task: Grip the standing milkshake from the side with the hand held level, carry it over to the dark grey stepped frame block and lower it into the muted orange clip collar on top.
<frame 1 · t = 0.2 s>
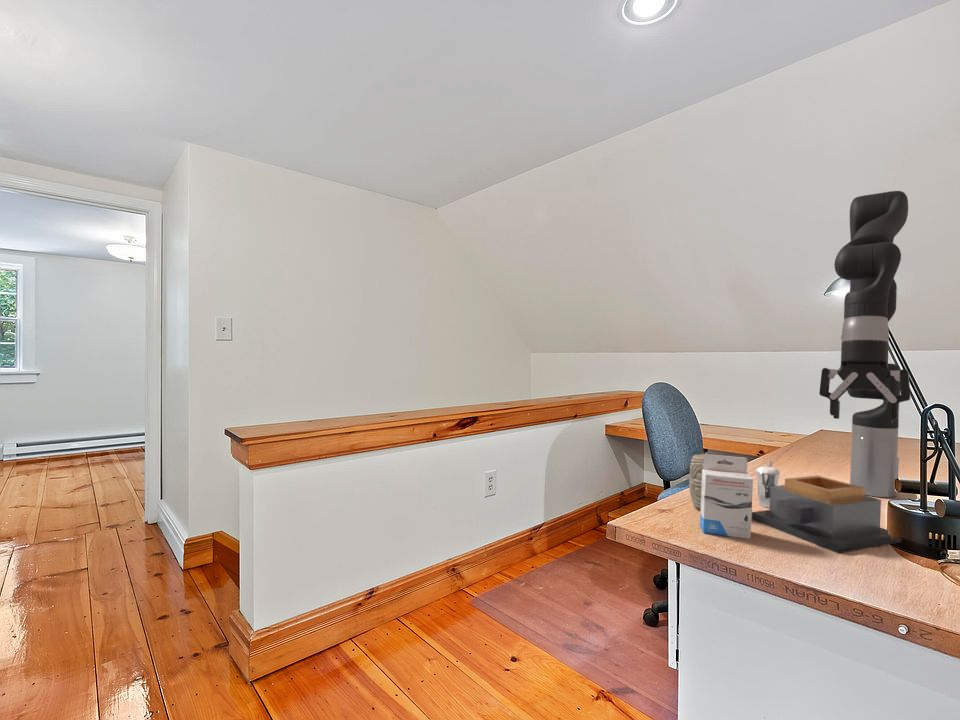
hand: (862, 420, 98), 22 cm above the table, tool pointing down, fingers open, 8 cm apart
milkshake: (767, 506, 113), on the table
stepped frame block: (822, 529, 98), on the table
carving: (706, 510, 110), on the table
ink box: (724, 533, 96), on the table
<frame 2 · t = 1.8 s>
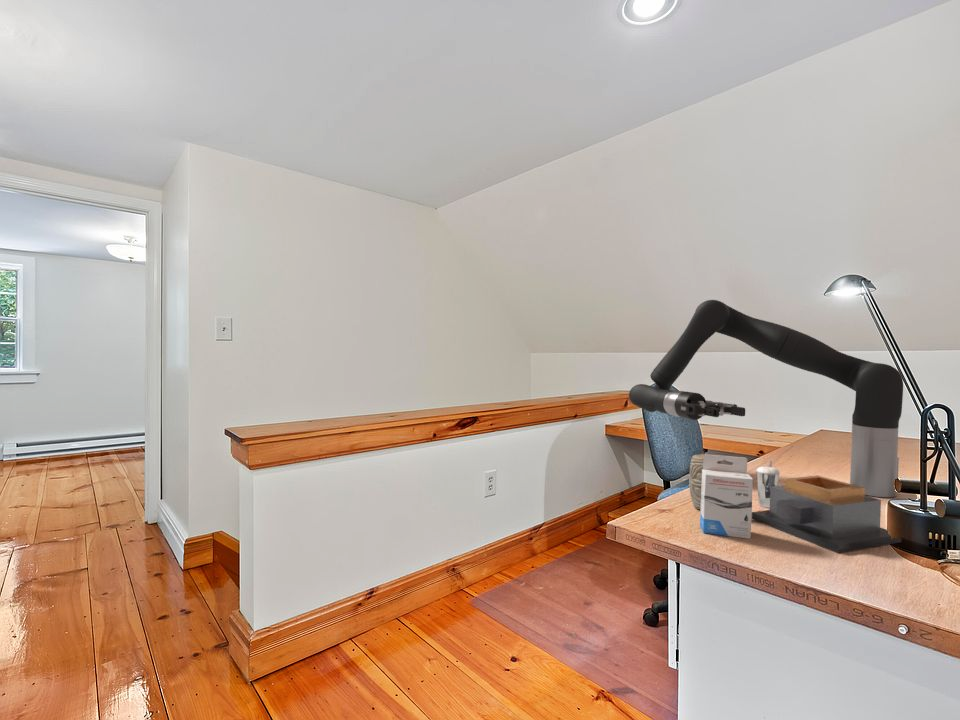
hand: (731, 412, 122), 20 cm above the table, tool horizontal, fingers open, 8 cm apart
nothing on the table moved.
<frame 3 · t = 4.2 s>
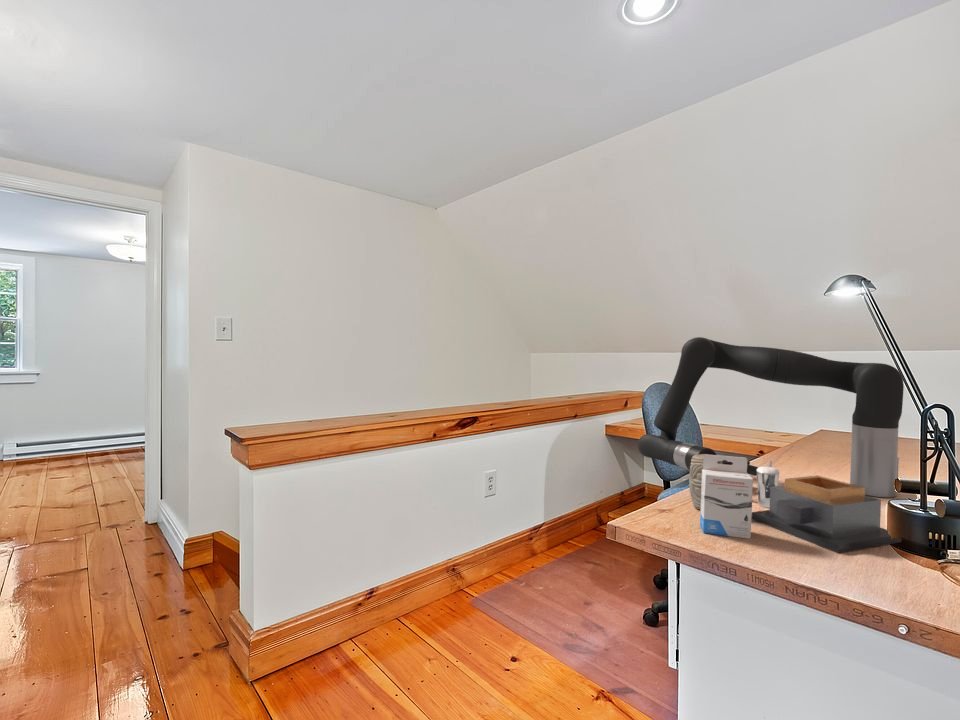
hand: (744, 472, 119), 6 cm above the table, tool horizontal, fingers open, 8 cm apart
nothing on the table moved.
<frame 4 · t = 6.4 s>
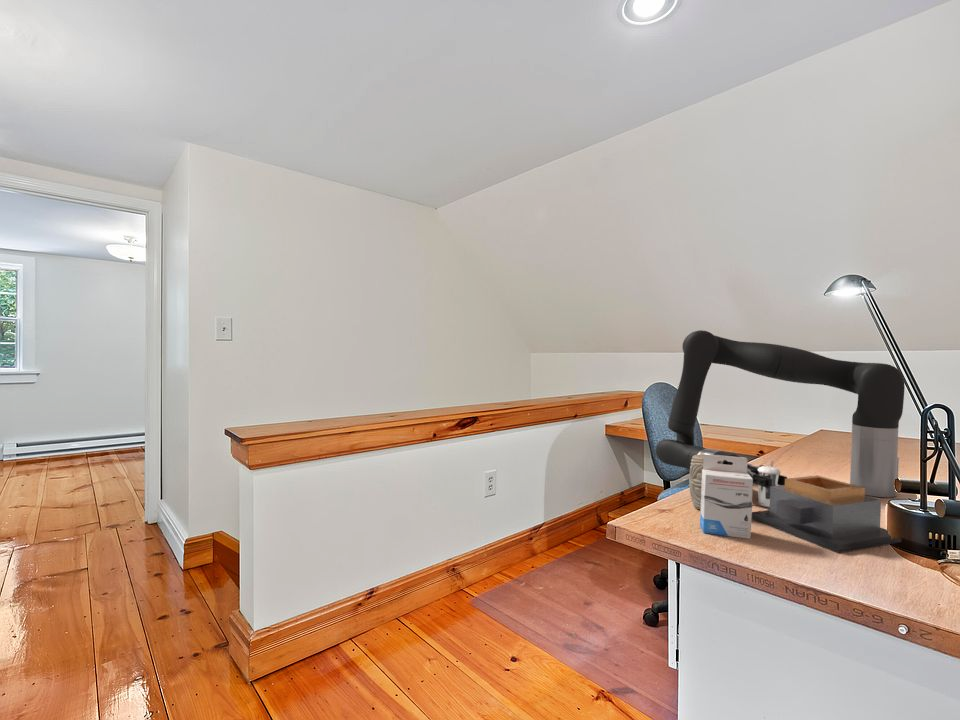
hand: (778, 482, 110), 6 cm above the table, tool horizontal, fingers closed on milkshake, 4 cm apart
milkshake: (767, 506, 113), on the table, touching gripper
everything else where it was.
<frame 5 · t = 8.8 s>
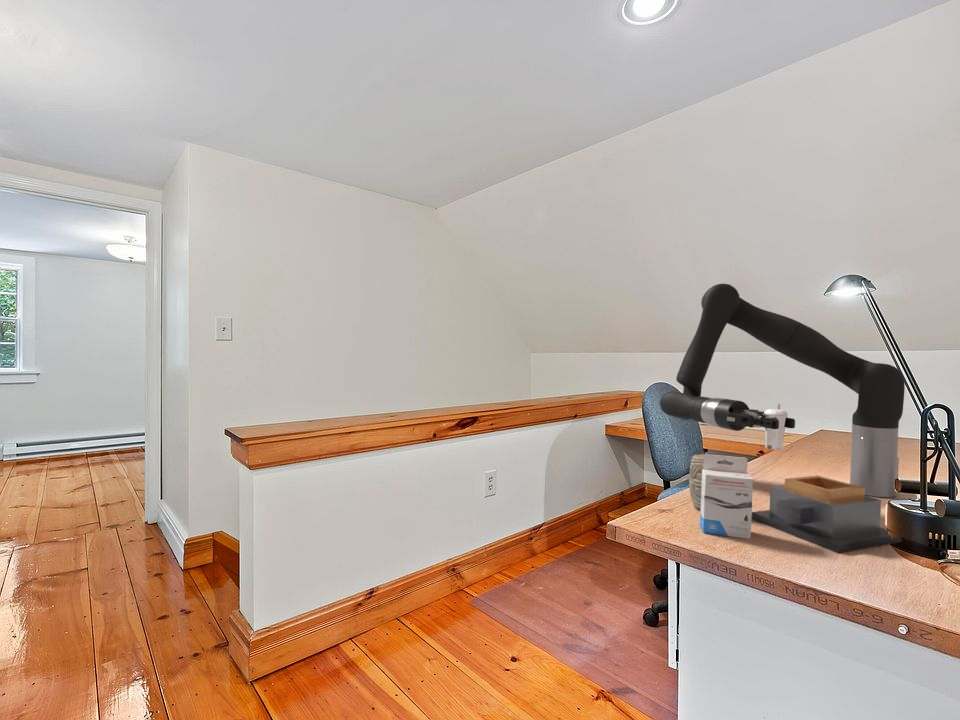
hand: (785, 424, 108), 20 cm above the table, tool horizontal, fingers closed on milkshake, 4 cm apart
milkshake: (773, 449, 111), point 13 cm above the table, touching gripper
everything else where it was.
when the fingers open (14 cm above the table, at t = 11.5 s): milkshake moves 2 cm, resting on stepped frame block.
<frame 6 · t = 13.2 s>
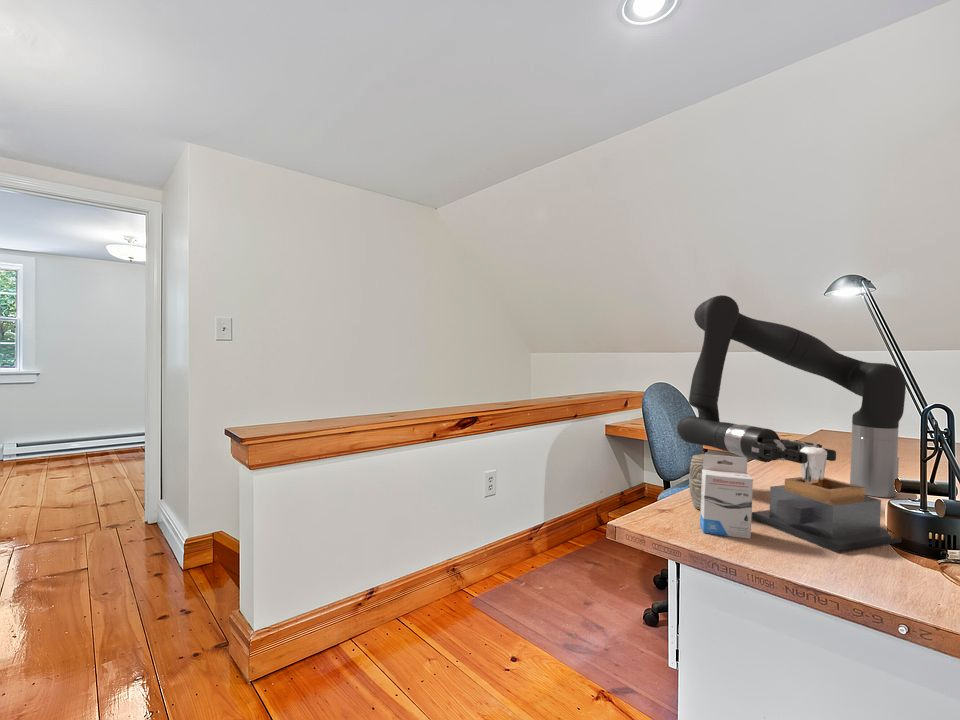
hand: (820, 457, 98), 15 cm above the table, tool horizontal, fingers open, 8 cm apart
milkshake: (812, 492, 98), point 7 cm above the table, touching gripper, stepped frame block
everything else where it was.
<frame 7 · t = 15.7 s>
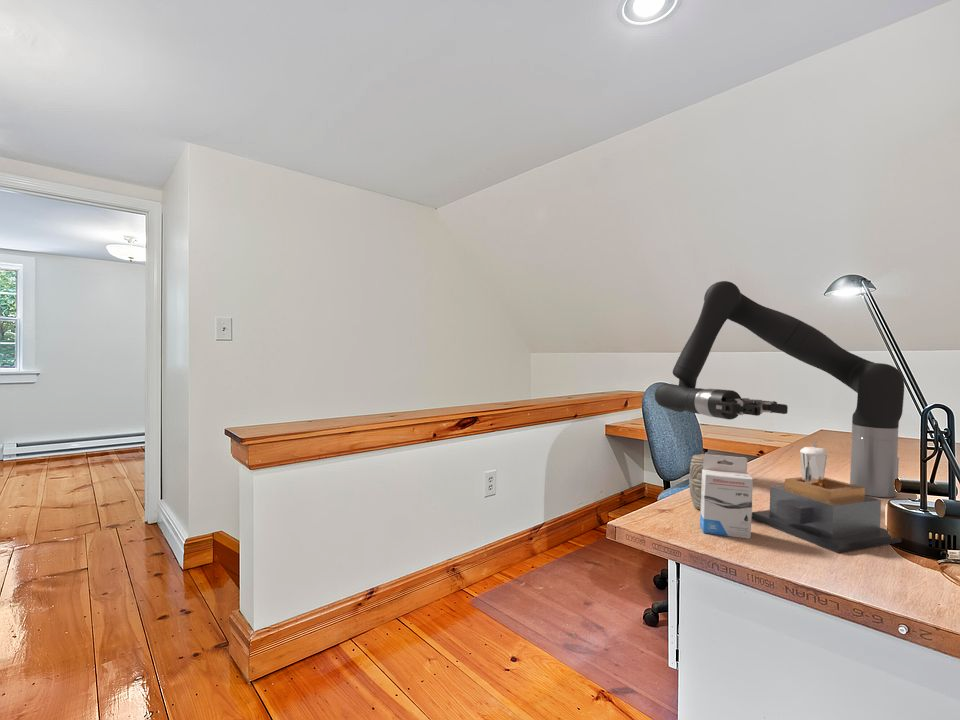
hand: (773, 410, 113), 22 cm above the table, tool horizontal, fingers open, 8 cm apart
milkshake: (812, 492, 98), point 7 cm above the table, touching stepped frame block
everything else where it was.
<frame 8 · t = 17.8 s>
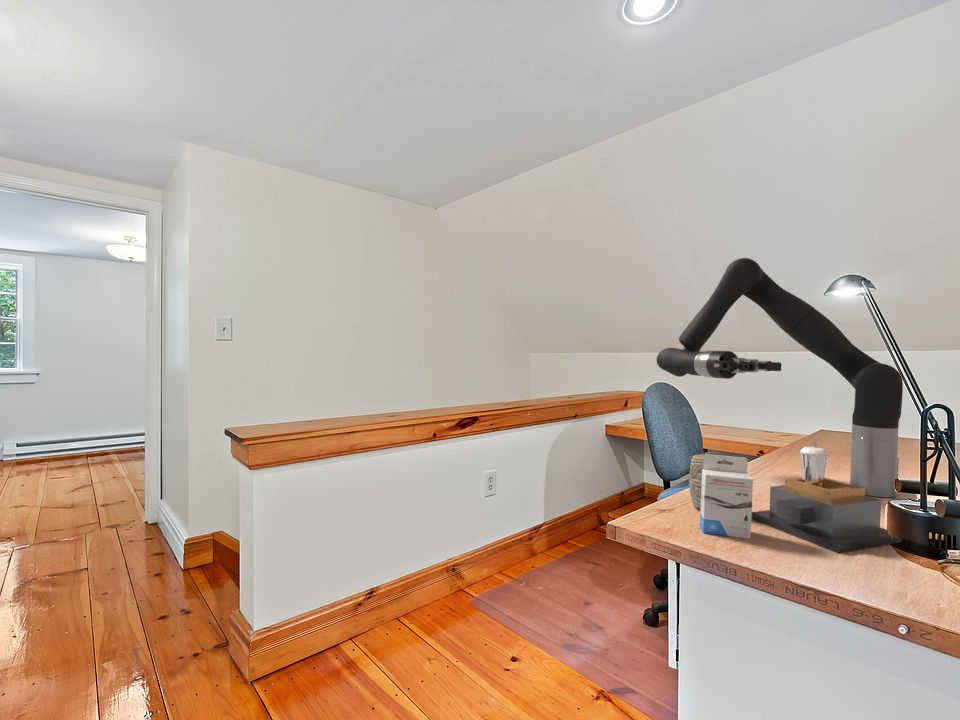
hand: (767, 366, 120), 32 cm above the table, tool horizontal, fingers open, 8 cm apart
nothing on the table moved.
at the end: milkshake 1.9 cm off-centre on the stepped frame block, point 7.3 cm above the stepped frame block's base; milkshake tilted 1°; the gripper is holding nothing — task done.
